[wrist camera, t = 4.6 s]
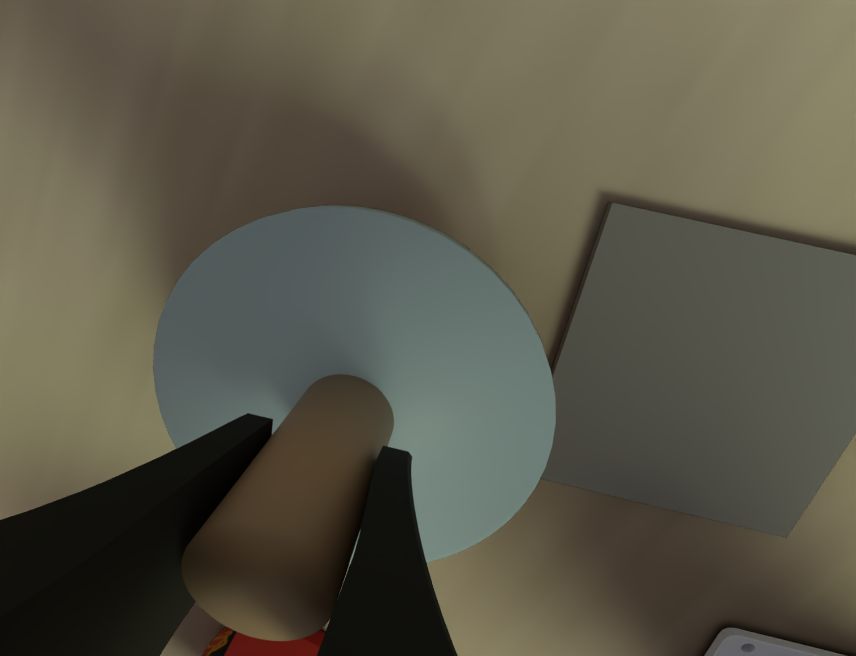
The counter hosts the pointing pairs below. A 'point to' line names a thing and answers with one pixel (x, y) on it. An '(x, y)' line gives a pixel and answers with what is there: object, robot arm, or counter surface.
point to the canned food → (261, 645)
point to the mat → (706, 370)
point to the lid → (346, 400)
